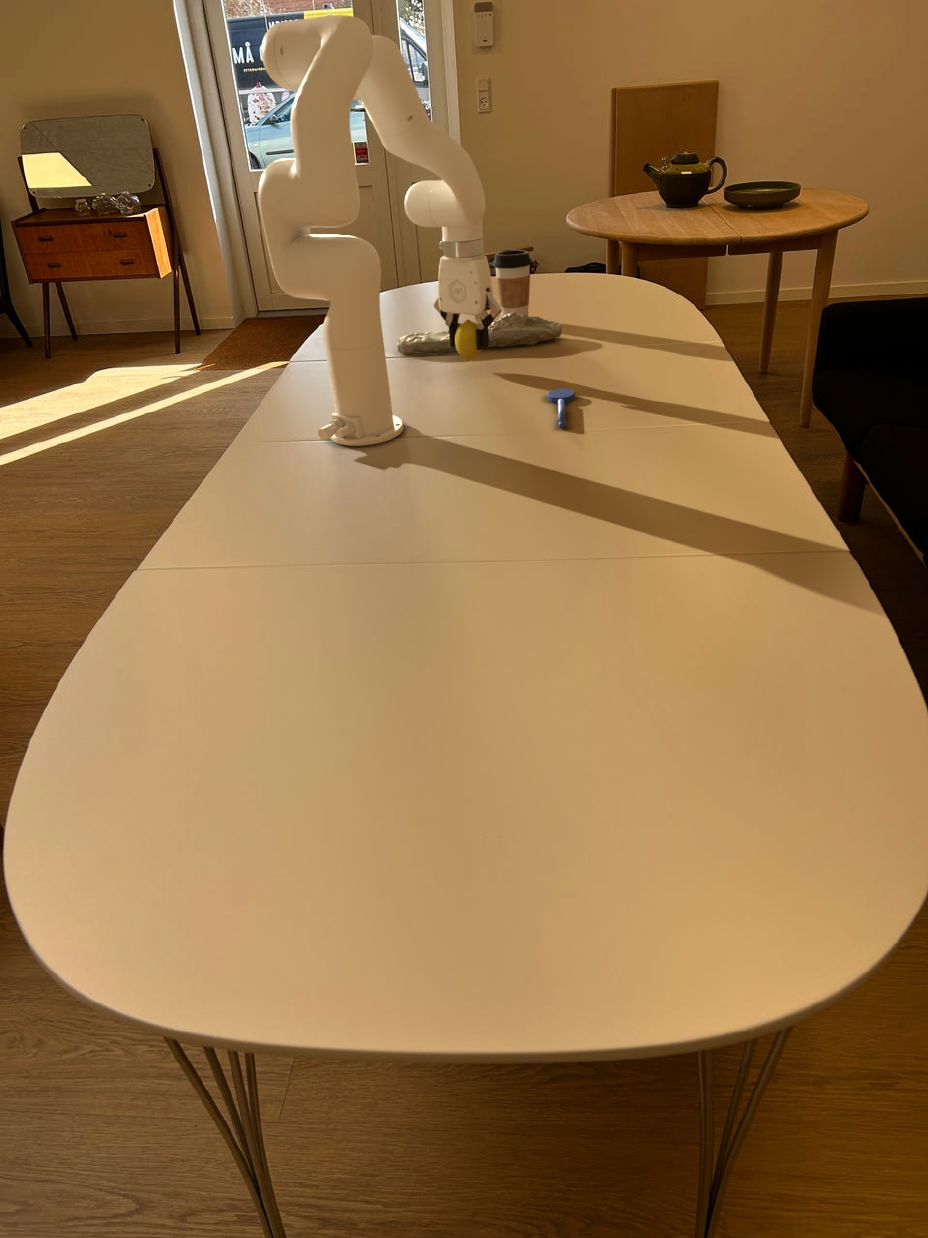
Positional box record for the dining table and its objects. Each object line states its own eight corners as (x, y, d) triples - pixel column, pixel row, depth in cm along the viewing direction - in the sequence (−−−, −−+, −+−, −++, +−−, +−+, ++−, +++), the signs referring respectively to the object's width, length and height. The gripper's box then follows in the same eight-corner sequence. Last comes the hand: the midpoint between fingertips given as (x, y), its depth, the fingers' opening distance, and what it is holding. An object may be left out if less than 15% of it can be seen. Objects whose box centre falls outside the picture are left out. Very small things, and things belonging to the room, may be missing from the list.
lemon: (485, 356, 186) (483, 315, 182) (483, 364, 181) (480, 322, 177) (458, 357, 187) (455, 316, 183) (454, 365, 182) (452, 323, 178)
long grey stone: (399, 351, 203) (399, 367, 195) (395, 327, 200) (394, 343, 192) (559, 328, 202) (565, 343, 194) (557, 303, 199) (563, 318, 191)
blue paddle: (576, 428, 153) (576, 421, 152) (547, 430, 154) (547, 423, 153) (574, 393, 168) (574, 386, 167) (547, 394, 168) (547, 388, 168)
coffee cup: (492, 325, 210) (488, 255, 202) (502, 315, 217) (498, 247, 209) (528, 325, 208) (525, 255, 200) (537, 315, 214) (534, 246, 206)
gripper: (414, 250, 175) (423, 347, 185) (491, 254, 167) (495, 356, 176) (438, 243, 181) (445, 338, 190) (513, 247, 172) (516, 346, 181)
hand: (469, 345), depth 183 cm, fingers closed on lemon, 5 cm apart
